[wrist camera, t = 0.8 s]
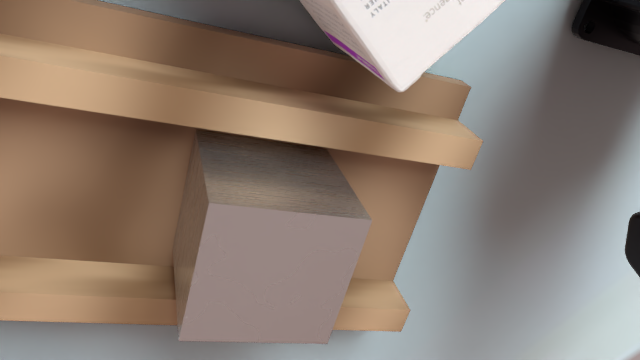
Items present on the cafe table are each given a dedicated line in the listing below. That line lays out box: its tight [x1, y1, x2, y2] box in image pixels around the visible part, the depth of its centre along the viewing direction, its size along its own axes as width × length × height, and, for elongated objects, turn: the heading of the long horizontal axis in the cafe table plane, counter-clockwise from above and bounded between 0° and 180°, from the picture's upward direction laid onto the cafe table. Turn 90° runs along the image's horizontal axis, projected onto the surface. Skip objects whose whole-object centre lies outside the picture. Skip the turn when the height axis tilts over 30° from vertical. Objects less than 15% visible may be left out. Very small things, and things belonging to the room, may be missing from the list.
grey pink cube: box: [173, 130, 372, 344], centre depth 19 cm, size 5×5×5 cm
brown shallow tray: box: [0, 0, 483, 332], centre depth 19 cm, size 23×12×4 cm, turn 74°
